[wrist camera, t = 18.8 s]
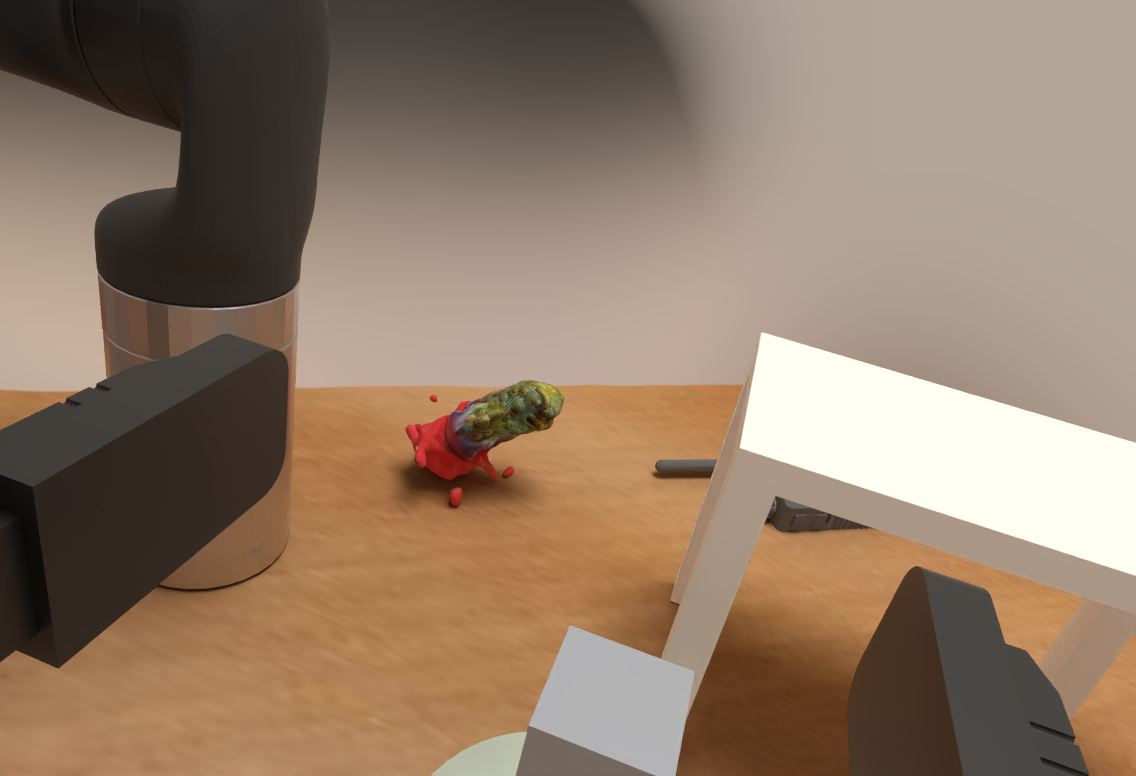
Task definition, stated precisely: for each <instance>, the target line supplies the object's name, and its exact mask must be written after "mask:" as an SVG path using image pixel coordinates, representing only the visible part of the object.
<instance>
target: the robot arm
mask: <svg viewBox="0 0 1136 776" xmlns="http://www.w3.org/2000/svg"><path fill="white" fill-rule="evenodd" d="M329 59H330V23H329V12H328V4H327V0H0V70H2V71H5V72H9V73H12V74H15V75H17V76H20V77H23V78H26V79H29V80H32V81H35V82H38V83H41V84H44V85H46V86H49V87H52V88H55V89H58V90H61V91H63V92H66V93H68V94H71V95H74V96H76V97H79V98H82V99H84V100H86V101H89V102H91V103H93V104H96V105H98V106H101V107H103V108H106V109H108V110H111V111H114V112H117V113H120V114H123V115H126V116H129V117H133V118H136V119H139V120H142V121H145V122H149V123H152V124H155V125H159V126H162V127H166V128H169V129H173V130H176V131H179V132H181V145H180V159H179V172H178V178H177V184H176V187H175V188H164V189H156V190H150V191H144V192H140V193H135V194H131V195H127V196H124V197H121V198H119V199H116V200H114V201H112V202H111V203H109V204H108V205H107V206H105V207H104V208H103V209H102V210H101V212H100V213H99V215H98V217H97V219H96V223H95V250H96V262H97V270H98V282H99V295H100V306H101V319H102V329H103V339H104V351H105V363H106V376H107V379H105V380H103V381H101V382H99V383H97V385H96V387H95V388H94V389H93V388H90V387H89V388H87V389H84V390H82V391H80V392H78V393H76V394H74V395H72V396H70V397H68V398H66V402H65V403H64V404H63V403H60V402H58V403H56V404H54V405H51V406H49V407H47V408H45V409H43V410H41V411H39V412H37V413H35V414H33V415H31V416H29V417H27V418H25V419H23V420H21V421H18V422H16V423H14V424H12V425H10V426H8V427H6V428H4V429H2V430H0V662H1V661H2V660H4V659H5V658H6V657H8V656H9V655H10V654H11V653H13V652H14V651H15V650H17V651H19V652H22V653H24V654H26V655H28V656H31V657H33V658H35V659H38V660H40V661H42V662H45V663H47V664H49V665H51V666H54V667H56V668H58V669H59V668H60V667H61V666H62V665H63V664H65V663H66V662H67V661H68V660H69V659H71V658H72V657H73V656H74V655H75V654H77V653H78V652H79V651H80V650H81V649H82V648H84V647H85V646H86V645H87V644H88V643H90V642H91V641H92V640H93V639H94V638H96V637H97V636H98V635H99V634H100V633H102V632H103V631H104V630H105V629H106V628H108V627H109V626H110V625H111V624H112V623H114V622H115V621H116V620H117V619H118V618H120V617H121V616H122V615H123V614H124V613H126V612H127V611H128V610H129V609H130V608H132V607H133V606H134V605H135V604H136V603H138V602H139V601H140V600H141V599H142V598H144V597H145V596H146V595H147V594H148V593H150V592H151V591H152V590H153V589H154V588H155V587H157V586H158V585H159V584H160V585H163V586H167V587H172V588H182V589H207V588H213V587H219V586H225V585H229V584H232V583H235V582H238V581H242V580H244V579H246V578H249V577H251V576H253V575H255V574H257V573H259V572H260V571H262V570H263V569H265V568H266V567H268V566H269V565H270V564H272V563H273V562H274V561H275V559H276V558H277V557H278V556H279V555H280V554H281V553H282V551H283V549H284V547H285V545H286V544H287V539H288V534H289V515H290V492H291V476H292V453H293V429H294V405H295V381H296V358H297V357H296V356H297V355H296V354H297V334H298V304H299V282H300V267H301V255H302V251H303V247H304V243H305V240H306V237H307V234H308V230H309V227H310V223H311V220H312V215H313V211H314V205H315V197H316V188H317V175H318V164H319V154H320V144H321V135H322V126H323V118H324V110H325V100H326V93H327V83H328V71H329ZM1074 739H1075V735H1074V732H1073V729H1072V727H1071V724H1070V721H1069V718H1068V716H1067V713H1066V710H1065V708H1064V705H1063V702H1062V699H1061V697H1060V694H1059V693H1058V691H1057V690H1056V689H1055V687H1054V686H1053V685H1052V684H1051V682H1050V681H1049V680H1048V678H1047V677H1046V676H1045V675H1044V673H1043V672H1042V671H1041V669H1040V668H1039V667H1038V666H1037V664H1036V663H1035V662H1034V660H1033V659H1032V658H1031V656H1030V655H1029V654H1028V653H1027V651H1025V650H1022V649H1020V648H1017V647H1014V646H1011V645H1008V644H1005V641H1004V638H1003V635H1002V631H1001V628H1000V625H999V621H998V618H997V615H996V612H995V608H994V605H993V602H992V599H991V596H990V594H989V593H988V591H987V590H986V589H984V588H981V587H978V586H975V585H972V584H969V583H966V582H963V581H960V580H957V579H954V578H951V577H948V576H945V575H942V574H939V573H936V572H933V571H930V570H927V569H924V568H921V567H918V566H916V567H913V568H912V569H910V570H909V571H908V573H907V574H906V575H905V577H904V578H903V580H902V582H901V584H900V585H899V587H898V589H897V591H896V593H895V595H894V597H893V599H892V601H891V603H890V605H889V606H888V608H887V610H886V612H885V614H884V616H883V618H882V620H881V622H880V624H879V626H878V627H877V629H876V631H875V633H874V635H873V637H872V639H871V641H870V643H869V645H868V647H867V648H866V650H865V652H864V654H863V656H862V658H861V660H860V662H859V664H858V667H857V669H856V672H855V675H854V678H853V682H852V686H851V690H850V695H849V702H848V741H849V764H850V776H1088V775H1089V773H1088V771H1087V768H1086V765H1085V762H1084V760H1083V757H1082V754H1081V751H1080V749H1079V746H1077V745H1074Z"/></svg>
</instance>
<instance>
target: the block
mask: <svg viewBox="0 0 1136 776" xmlns="http://www.w3.org/2000/svg"><path fill="white" fill-rule="evenodd" d="M694 673H695V671H692V670H690V669H687V668H684V667H681V666H679V665H676V664H673V663H671V662H668V661H665V660H663V659H660V658H657V657H654V656H652V655H649V654H646V653H644V652H641V651H638V650H636V649H633V648H630V647H628V646H625V645H622V644H619V643H617V642H614V641H611V640H609V639H606V638H603V637H601V636H598V635H595V634H592V633H590V632H587V631H584V630H582V629H579V628H576V627H574V626H571V625H570V626H569V629H568V631H567V634H566V636H565V639H564V641H563V643H562V646H561V648H560V651H559V653H558V656H557V658H556V660H555V663H554V665H553V668H552V670H551V673H550V675H549V678H548V680H547V682H546V685H545V687H544V690H543V692H542V695H541V697H540V699H539V702H538V704H537V707H536V709H535V712H534V714H533V716H532V719H531V721H530V724H529V726H528V730H527V734H526V738H525V742H524V745H523V749H522V753H521V757H520V761H519V764H518V768H517V772H516V776H675V775H676V770H677V764H678V759H679V754H680V748H681V743H682V737H683V732H684V727H685V721H686V716H687V711H688V705H689V700H690V695H691V689H692V684H693V678H694Z"/></svg>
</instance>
